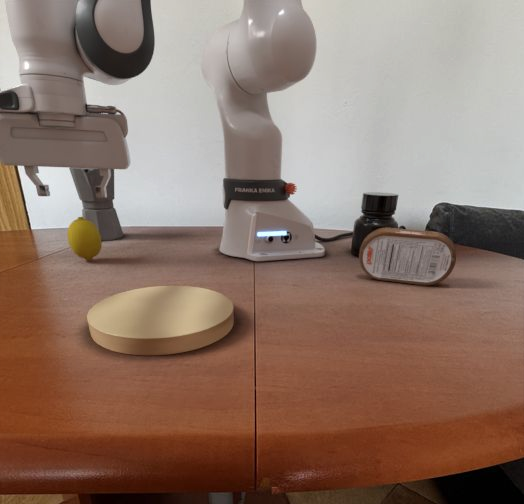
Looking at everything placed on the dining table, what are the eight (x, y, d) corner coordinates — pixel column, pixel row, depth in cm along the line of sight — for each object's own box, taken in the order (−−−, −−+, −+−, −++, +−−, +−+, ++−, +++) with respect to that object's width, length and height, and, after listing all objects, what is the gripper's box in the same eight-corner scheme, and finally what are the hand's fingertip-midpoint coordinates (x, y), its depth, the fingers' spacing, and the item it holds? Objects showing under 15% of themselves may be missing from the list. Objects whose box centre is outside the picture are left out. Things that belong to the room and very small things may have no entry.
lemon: (78, 257, 73) (70, 214, 70) (108, 257, 74) (100, 214, 70) (68, 265, 68) (58, 219, 65) (99, 265, 69) (91, 219, 65)
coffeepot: (120, 242, 86) (107, 153, 78) (76, 243, 84) (58, 152, 76) (127, 230, 99) (117, 153, 91) (89, 230, 97) (75, 152, 89)
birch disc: (228, 297, 55) (227, 283, 54) (240, 350, 40) (240, 333, 39) (106, 301, 53) (104, 287, 52) (72, 360, 38) (67, 342, 37)
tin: (448, 284, 63) (461, 232, 59) (450, 290, 60) (464, 235, 56) (356, 274, 67) (363, 225, 63) (354, 279, 64) (361, 228, 60)
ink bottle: (393, 251, 83) (403, 192, 78) (396, 261, 76) (408, 197, 70) (348, 248, 85) (355, 191, 80) (347, 257, 78) (355, 194, 72)
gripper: (128, 108, 64) (137, 196, 70) (-4, 101, 61) (18, 193, 67) (122, 104, 58) (132, 200, 64) (-24, 95, 55) (2, 197, 61)
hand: (73, 196), depth 66 cm, fingers open, 8 cm apart
